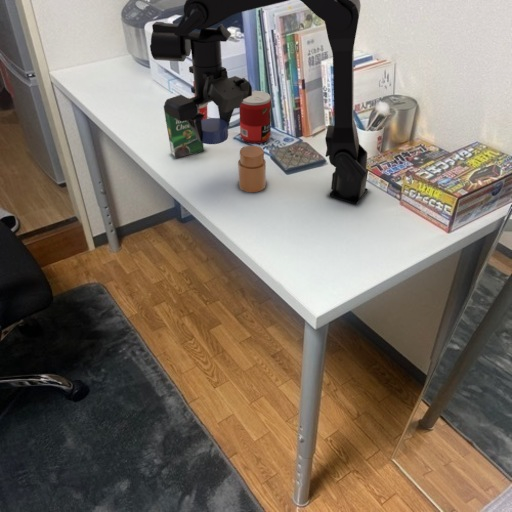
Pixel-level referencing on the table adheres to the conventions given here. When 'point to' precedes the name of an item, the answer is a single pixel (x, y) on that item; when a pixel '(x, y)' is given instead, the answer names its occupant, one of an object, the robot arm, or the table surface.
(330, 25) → the robot arm
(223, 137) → the lid
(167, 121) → the coffee box
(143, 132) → the table surface
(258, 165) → the jar
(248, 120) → the canned food
